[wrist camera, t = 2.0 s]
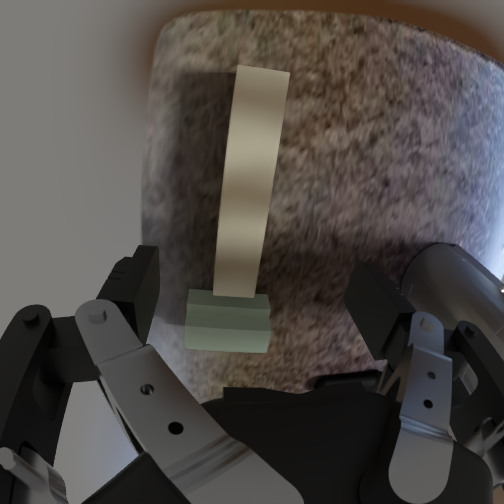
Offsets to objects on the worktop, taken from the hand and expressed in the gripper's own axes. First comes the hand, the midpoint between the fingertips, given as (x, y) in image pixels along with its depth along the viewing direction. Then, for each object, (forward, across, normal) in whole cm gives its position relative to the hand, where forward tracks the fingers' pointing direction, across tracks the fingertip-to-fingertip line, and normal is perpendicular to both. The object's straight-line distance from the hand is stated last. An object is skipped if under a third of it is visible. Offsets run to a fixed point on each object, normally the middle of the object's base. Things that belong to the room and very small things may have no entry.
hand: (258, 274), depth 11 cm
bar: (+15, 0, 0) cm, 15 cm away
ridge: (+15, 0, +14) cm, 20 cm away
